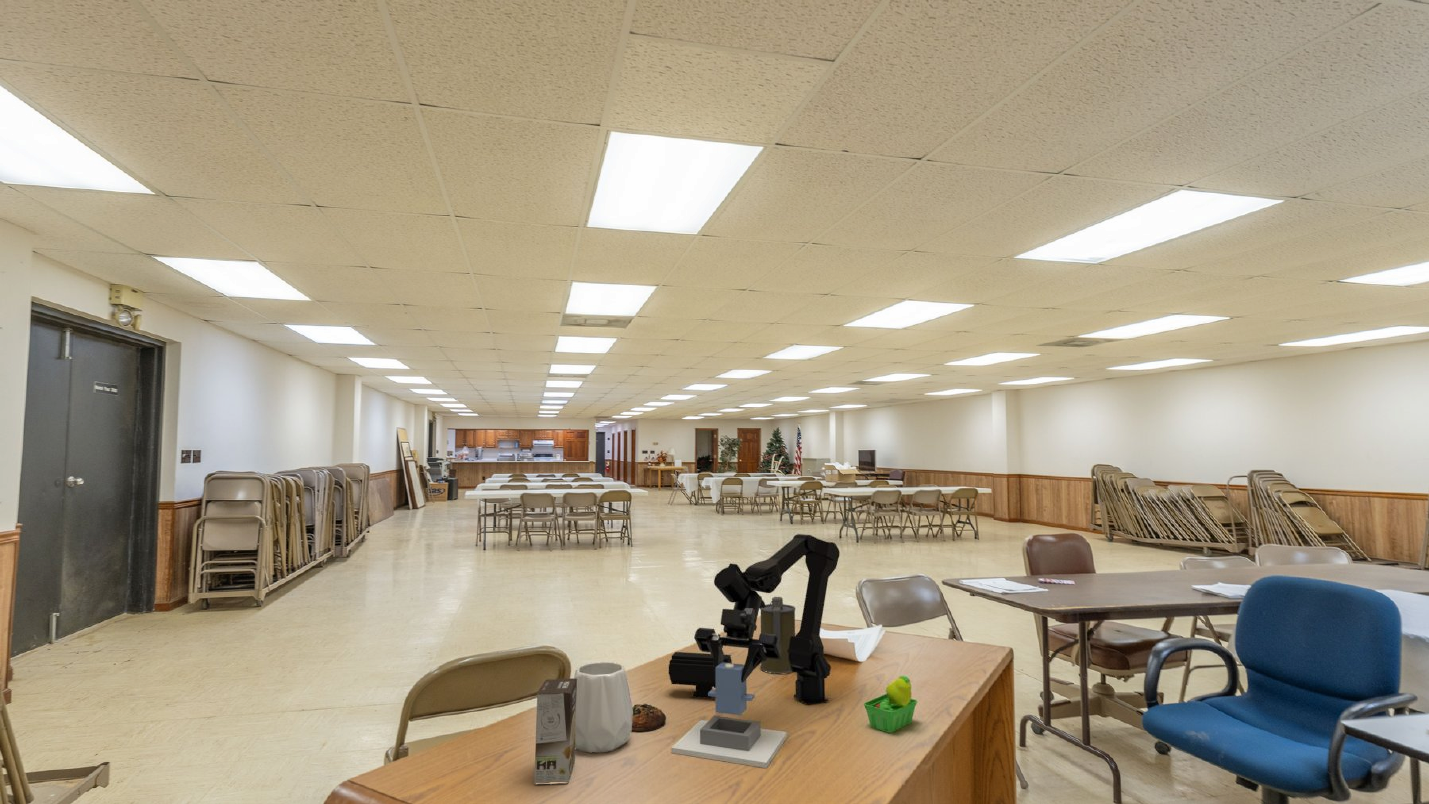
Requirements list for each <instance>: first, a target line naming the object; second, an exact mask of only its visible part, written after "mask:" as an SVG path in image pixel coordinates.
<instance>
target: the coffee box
mask: <svg viewBox="0 0 1429 804" xmlns="http://www.w3.org/2000/svg"><path fill="white" fill-rule="evenodd" d="M576 695H577V679H576V678H575V679H574V678H572V677H571V678H570V677H569V678H552V679H545V681H544V682H543V684H542V685H541V687H540V688H539V689H538V690H537V693H536V718H535V719H536V720H535V721H536V722H535V723H536V725H535V748H534V749H535V753H534V755H535V756H534V758H535V759H534V780H533V781H534V782H533V783H534V784H536V783H550V782H568V783H569V782H570V779H571V776H570V775H572V773H573V769H574V767H575V763H576V749H575V736H576Z"/></svg>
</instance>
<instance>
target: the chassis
mask: <svg viewBox="0 0 1429 804" xmlns="http://www.w3.org/2000/svg"><path fill="white" fill-rule="evenodd" d="M761 725H762V723H761V721H756V720H749V719H741V718H737V717H736V718H733V717H728V716H720V715H713V716H712V717H711V718H710V719H709V720H703V719H700V720H699V721H698V722H697V723H695V725H694V726H693V727H691V728H690V730H688V731H687V732H686V733H685V734H684V735H683V736H682V737H681V738H680V739H679V740H678V741H677V742H676V743H674V744H673V745H672V746H671V750H670V752H671V753H672V754H677V755H681V756H682V755H683V756H689V757H695V758H702V759H708V760H713V761H720V762H726V763H732V764H738V765H744V766H750V767H757V768H763V769H767V768H768V767H769V765H770V763H771V762H772V761H773V759H774V758H775V756H776V754H777V753H778V751H779V750H780V748H781V747H782V746H783V744H784V742H785V741H786V739H787V738H788V732H787V731H782V730H773V729H767V728H761Z"/></svg>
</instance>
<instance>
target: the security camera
mask: <svg viewBox="0 0 1429 804" xmlns="http://www.w3.org/2000/svg"><path fill="white" fill-rule="evenodd" d="M724 655H725V656H724V660H723V662H724V663H733V662H732V661H733V660H732V657H731V656H732V654H724ZM668 676H669V680H670V683H671V685H679V686H681V685H682V686H695V691H693V693H692V698H701V699H702V698H703V699H711V698H712V697H713V696H708V693H709V692H710V691H711V690H712V689H713V687H714V689H716V679H715V675H714V661H713V656H712V655H711V653H705V652H703V653H700V652H685V651H683V652H682V651H675V652H673V654H672V655H671V659H670V660H669V664H668Z"/></svg>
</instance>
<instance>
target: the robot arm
mask: <svg viewBox="0 0 1429 804" xmlns="http://www.w3.org/2000/svg"><path fill="white" fill-rule="evenodd" d="M840 554H841V553H840V550H839V547H838V546H837V544H836V543H835V542H832V541H827V540H824V539H823V540H822V539H820V538H817V537H815V536H813V535H811V534H802V533H797V534H795V535H794V536H793V537H792V539H791V540H790V541H788V543H786V544H785V545H784V546H782V547H781V548H780V549H778V551H776V552H775V553H774V554H773V555H771V556H770V557H769V558H767V559H765V560H762V561H761V560H760V561H757V562H755V563H753V564H751V565H750V566H747V568H746V569H745V571H742V570H741V568H740V566H739V565H738V564H737V563H729V565H728V566H726V567H725V568H723V569H721V570H720V571H718V573H716V574H715V576H714V580H713V585H714V586H715V587H716V588H717V589H718V591H719V592H720V593H721V594H722V595H723V597H725V599H726V600H727V601H728V602H730V603H732V604H733V603H734V605H733V608H732V609H729V608H722V611H721V617H720V625H721V626H723V629H722V630H723V633H725V634H726V635H720V634H718V633H717V632H716V630H715V628H711V627H710V628H709V627H708V628H707V627H698V628H697V629H696V631H695V634H694V640H695V642H696V645H697V647H698V649H699V651H701V652H703V653H709V654H711V655H712V656H713V661H714V675H715V679H716V667H717V666H718V665H719V664H721V663H722V662H723V660H724V656H725V655H726V654H725V653H724V651H723V648H724V647H731V648H742V649H747V656H746V659H745V661H744V664H743V665H744V668H743V671H742V677H741V681H742V682H744V681H745V680H746V681H747V679H748V678H749V677H750V675H751V674H752V673H753V671H755V669H756V668H757V667H759V665H761V662H762V661H766V660H767V658H769V659H781V655H782V646H781V643H780V640H779V637H778V636H777V635H776V634H767V633H761V632H760V634H759V635H758V638H753V637H754V634H755V631H757V628H758V625H757V621H758V616H759V613H760V612H759V611H760V608H765V607H766V606H765V605H766V603H765V601H764V600H763V598H762V596H761V595H760V594H759V593H765V594H772V593H773V592H774V591H775V590H776V589H777V588H778V586H779V585H780V584H781V583H782V577H783V575H784V573H786V572H787V571H788V570H789V569H790V568H791V567H793V566H794V565H795V564H796V563H797V562H799V561H800V560H801V559H802V558H803V557H804V556H805V557H804V559H805V560H804V561H805V565H806V568H807V571H808V573H809V574H808V579H807V580H808V581H807V586H806V592H805V598H804V603H803V609H802V614H801V615H802V617H801V622H800V626H799V627H800V628H799V631H797V633H796V634H795V636H791V638H790V644H789V649H788V651H787V652H788V660H789V662H790V666H791V670H792V673H796V680H795V683H794V684H795V694H794V695H793V698H795V699H797V700H798V701H800V702H801V703H803V704H805V705H806V706H807V705H813V704H820V703H826V702H829V699H828V697H826V690H825V687H826V684H825V683H826V682H825V679H827V678H828V677H830V675H831V669H832V666H831V665H830V663H829V662H828V661H827V660H826V658H825V657H824V649H825V647H824V644H823V641H822V639H821V636H820V634H821V633H820V632H821V629H822V627H821V626H822V620H823V614H824V608H825V601H826V595H827V587H828V581H829V578H830V576H831V575H832V574H833V573H834V571H835V570H836V569H837V567H838V561H839V559H840ZM758 592H759V593H758Z"/></svg>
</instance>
